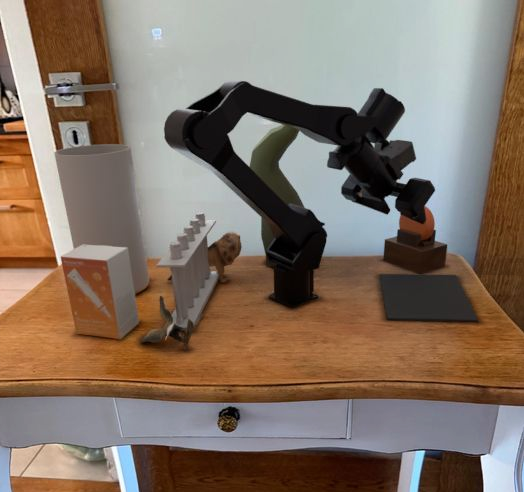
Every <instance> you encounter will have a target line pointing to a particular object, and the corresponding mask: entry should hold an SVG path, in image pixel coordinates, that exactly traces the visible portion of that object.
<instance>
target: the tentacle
mask: <svg viewBox="0 0 524 492" xmlns="http://www.w3.org/2000/svg"><path fill="white" fill-rule="evenodd" d="M299 133H300V131H299V130H298V129H296V128H294V127H290V126H287V125H283V124H280V125H278V126H276V127H273V128H271V129H269V130H268V132H267V133H266V134H265V135H264V136H263V137H262V138H261V139H260V140H259V142H258V143H257V144H256V145H255V146H254V147H253V148H252V151H251V157H250V162H249V167H250V168H251V169H252V170H253V171H254V172H255V173H256V174H257V175H258V176H259V177H260V178H261V179H262V180H263V181H264V182H265V183H266V184H267V185H268V186H269V187H270V188H271V189H272V190H273V191H274V192H275V193H276V194H277V195H278V196H279V197H280V198H281V199H282V200H283V201H284V202H285V203H286V204H287V205H289V203H290V204H294V205H297V206H300V207H303V208H306V207H305V205H304V203H303V200H302V199H301V197H300V196H299V193H298V192H297V190H296V189H295V188H294V186H293V185H292V183H291V182H290V181H289V179H288V178H287V177H286V176H285V173H284V172H283V171H282V169H281V168H280V160H282V158H283V156H284V155H285V153H286V151H287V149H289V147H290V146H291V145H292V144H293V143H294V141H296V139H297V137H298V136H299ZM260 221H261V222H260V237H261V242H262V246H263V249H264V255H265V266H266V267H273V268H274V266H276V265H277V264H275V263H273V262H270V261H268V258H267V255H266V250H267V248H268V247H269V245H270V244H271V243H272V241H273V240H274V238H275V237H274V236H273V235H272V232H271V229H270V226H269V224H268V223H267V222H266V221H265V220H264V219H263V218H262V217H261V216H260ZM293 254H294V255H296V256H297V254H295V253H293Z"/></svg>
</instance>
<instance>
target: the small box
mask: <svg viewBox="0 0 524 492" xmlns="http://www.w3.org/2000/svg"><path fill="white" fill-rule="evenodd" d="M60 261H61V266H62V270H63V276H64V281H65V283H66V284H65V285H66V290H67V294H68V300H69V304H70V309H71V314H72V319H73V324H74V327H75V328H74V329H75V333H76V335H85V336H86V335H87V336H92V337H93V336H94V337H101V338H102V337H103V338H108V339H115V340H121V339H123V338H124V337H125V336H126V335H127V334H128V333H130V332H131V331H132V330H134V328H136V327H137V326H138V325H139V324H140V319H139V312H138V304H137V299H136V298H137V297H136V294H135V291H134V285H133V278H132V272H131V265H130V259H129V252H128V248H127V247H113V246H104V245H99V246H98V245H85V244H84V245H81V246H79V247H77V248H75V249H74V248H73V249H71V250H69V251H68V252H66V253H64V254H62V255H61V256H60Z"/></svg>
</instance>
